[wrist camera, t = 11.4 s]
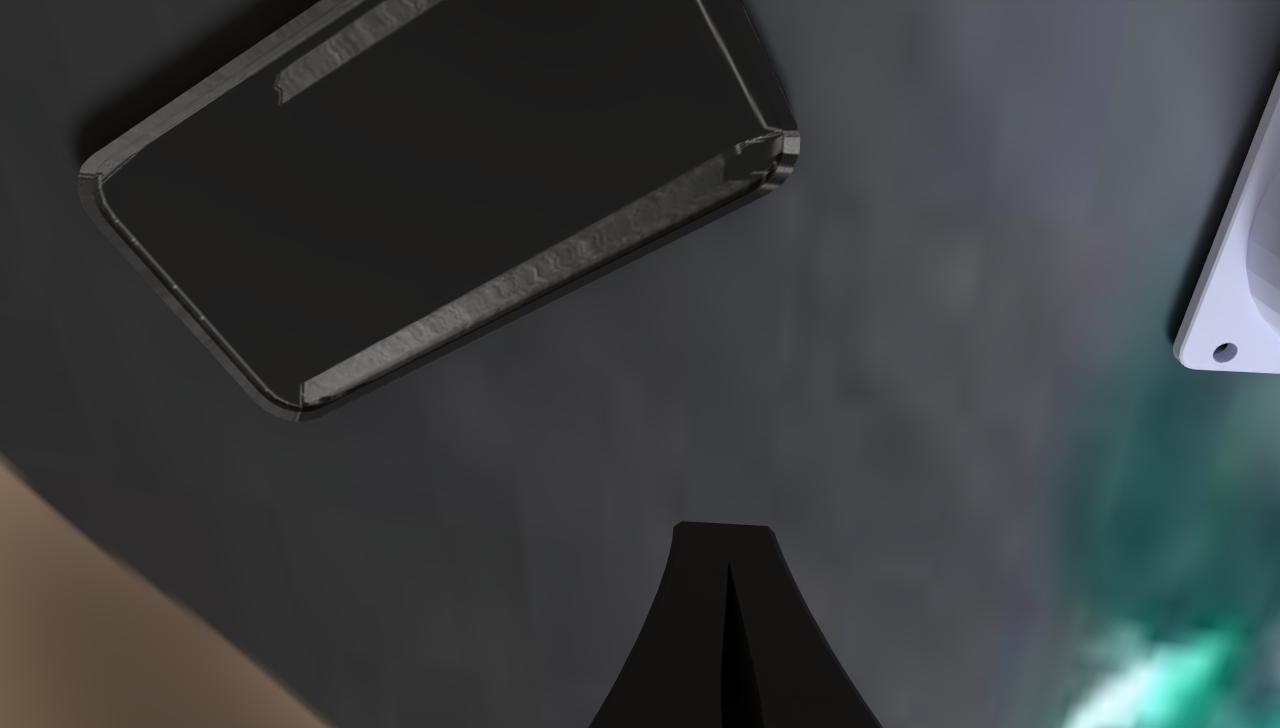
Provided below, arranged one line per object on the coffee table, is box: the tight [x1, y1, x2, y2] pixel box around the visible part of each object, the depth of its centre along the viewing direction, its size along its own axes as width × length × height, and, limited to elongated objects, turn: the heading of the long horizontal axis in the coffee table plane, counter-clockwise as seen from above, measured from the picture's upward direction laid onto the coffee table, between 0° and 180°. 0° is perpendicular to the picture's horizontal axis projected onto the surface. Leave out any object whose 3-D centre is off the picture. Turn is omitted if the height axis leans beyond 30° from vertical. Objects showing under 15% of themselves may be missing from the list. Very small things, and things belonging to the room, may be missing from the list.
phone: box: [78, 0, 800, 421], centre depth 19 cm, size 8×1×15 cm
